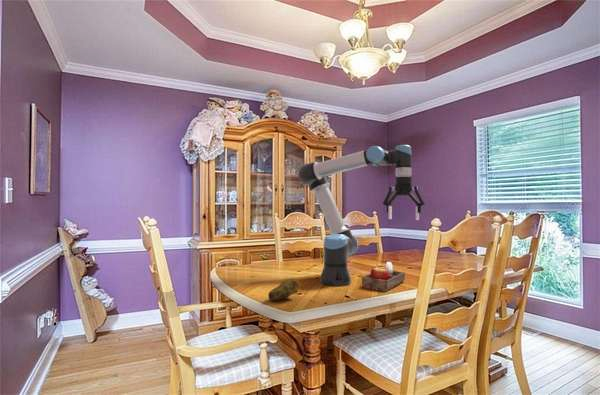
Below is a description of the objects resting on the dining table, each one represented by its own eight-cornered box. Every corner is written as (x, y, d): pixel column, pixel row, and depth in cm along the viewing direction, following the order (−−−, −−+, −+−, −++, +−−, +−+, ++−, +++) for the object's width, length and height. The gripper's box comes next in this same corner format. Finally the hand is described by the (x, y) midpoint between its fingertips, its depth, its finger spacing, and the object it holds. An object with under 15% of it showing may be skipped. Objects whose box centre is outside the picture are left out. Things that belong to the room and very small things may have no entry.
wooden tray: (362, 287, 153) (362, 277, 153) (381, 278, 172) (381, 269, 172) (387, 291, 146) (387, 281, 146) (404, 281, 164) (404, 272, 164)
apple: (369, 281, 159) (369, 261, 159) (387, 282, 158) (387, 261, 158) (371, 286, 151) (371, 264, 151) (389, 286, 150) (390, 265, 150)
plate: (384, 281, 160) (384, 263, 160) (391, 278, 167) (391, 260, 167) (385, 281, 159) (385, 263, 159) (392, 278, 166) (392, 260, 167)
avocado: (266, 297, 136) (266, 278, 136) (296, 295, 139) (296, 277, 139) (269, 303, 128) (269, 283, 128) (300, 301, 131) (301, 281, 131)
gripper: (376, 177, 165) (376, 218, 165) (427, 175, 150) (427, 220, 150) (382, 178, 171) (382, 218, 171) (431, 176, 156) (431, 220, 156)
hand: (403, 219), depth 160 cm, fingers open, 13 cm apart
